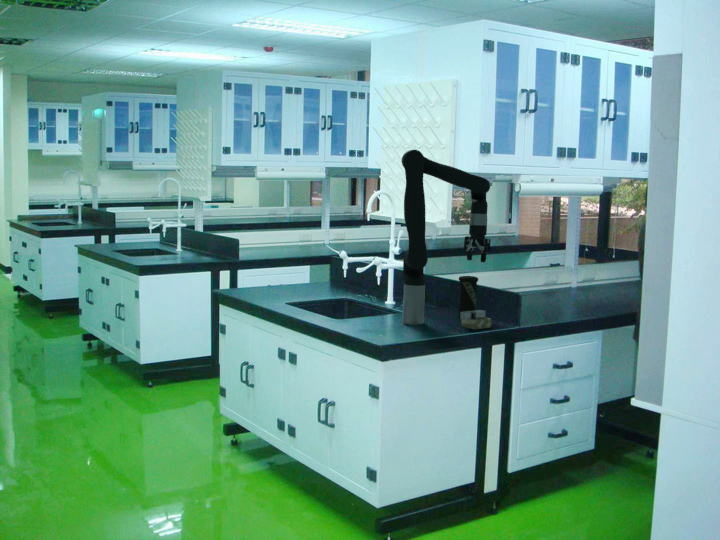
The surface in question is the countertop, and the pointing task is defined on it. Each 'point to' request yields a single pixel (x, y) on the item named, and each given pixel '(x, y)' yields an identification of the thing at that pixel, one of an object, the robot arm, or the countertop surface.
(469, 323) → the slot block
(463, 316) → the grey rectangular bar
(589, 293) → the countertop surface
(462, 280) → the container
